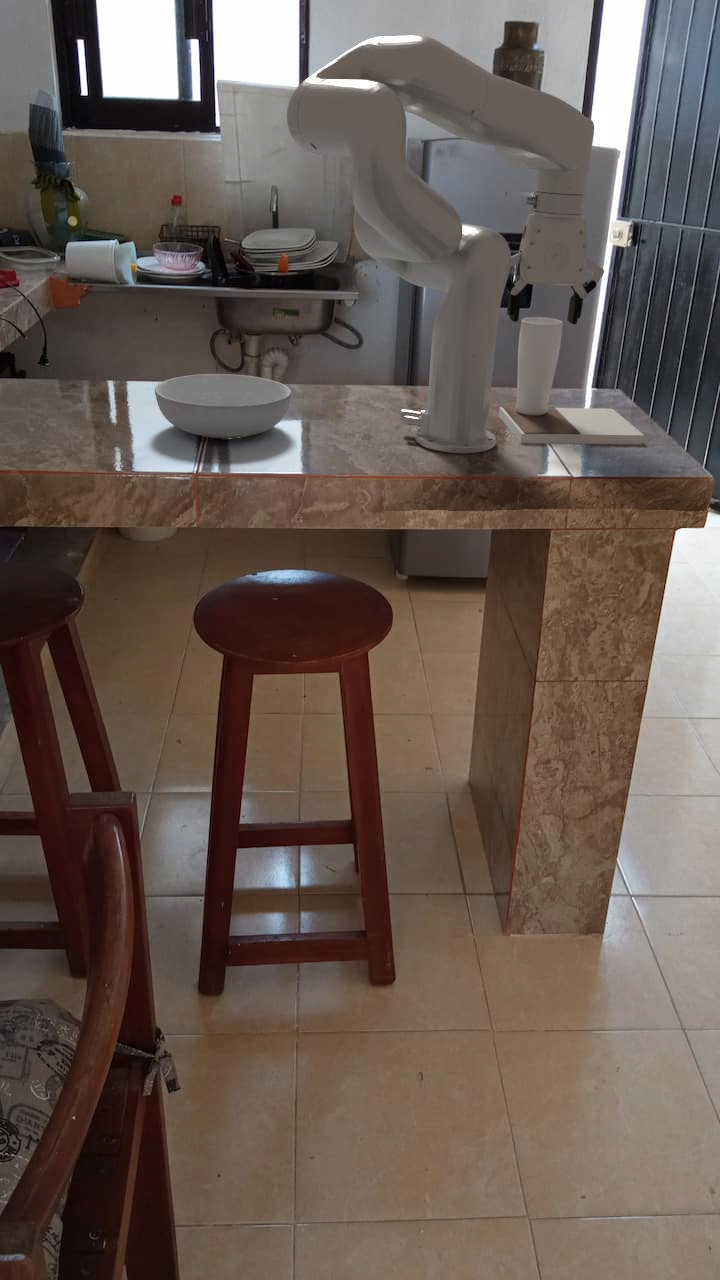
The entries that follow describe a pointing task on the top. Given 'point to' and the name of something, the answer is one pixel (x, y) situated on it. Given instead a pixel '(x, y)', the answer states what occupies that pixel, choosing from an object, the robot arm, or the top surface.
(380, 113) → the robot arm
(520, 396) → the drinking glass
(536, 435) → the board
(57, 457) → the top surface
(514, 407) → the brown rectangular panel
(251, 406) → the serving bowl
